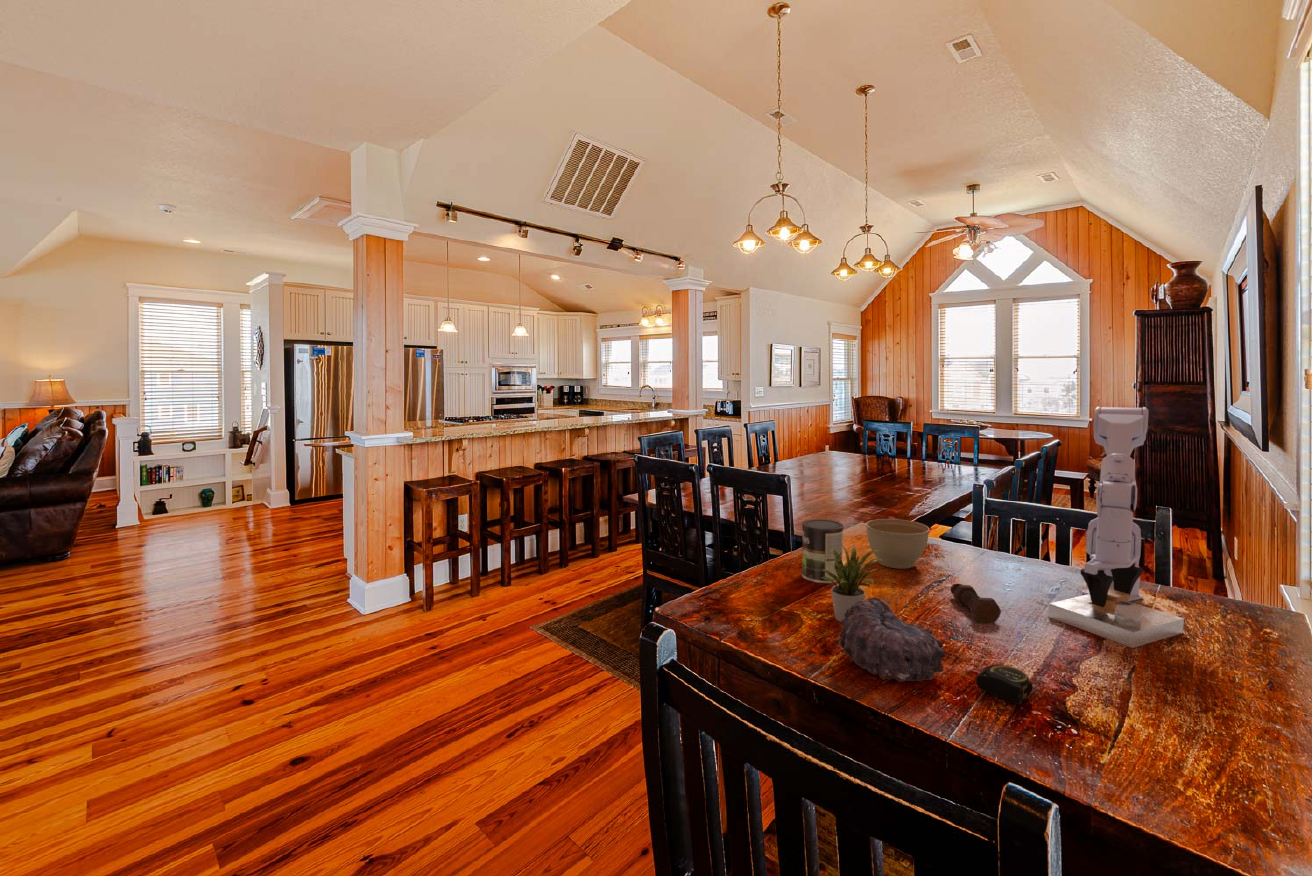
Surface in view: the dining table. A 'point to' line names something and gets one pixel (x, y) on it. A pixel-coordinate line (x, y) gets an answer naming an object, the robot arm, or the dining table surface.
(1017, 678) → the tape measure
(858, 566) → the house plant
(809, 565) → the coffee can
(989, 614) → the bolt
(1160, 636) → the grey slab with hole
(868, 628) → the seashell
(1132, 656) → the dining table surface
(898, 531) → the planter bowl
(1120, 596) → the tan chamfered block
